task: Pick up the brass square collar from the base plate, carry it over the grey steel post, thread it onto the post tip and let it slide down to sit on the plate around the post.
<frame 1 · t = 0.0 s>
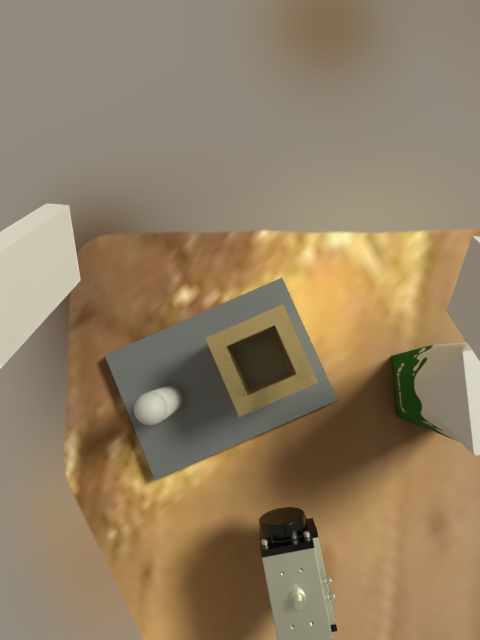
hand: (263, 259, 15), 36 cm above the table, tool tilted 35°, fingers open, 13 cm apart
collar: (260, 359, 48), point 1 cm above the table, touching post plate
post plate: (220, 376, 50), on the table
milk carton: (424, 384, 49), on the table
pneumatic valve: (291, 542, 48), on the table
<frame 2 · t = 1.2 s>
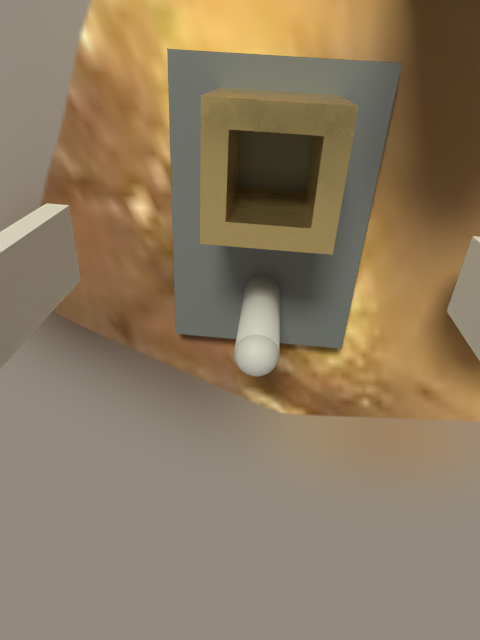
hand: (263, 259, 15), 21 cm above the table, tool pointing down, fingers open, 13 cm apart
collar: (274, 154, 31), point 1 cm above the table, touching post plate
post plate: (268, 216, 35), on the table
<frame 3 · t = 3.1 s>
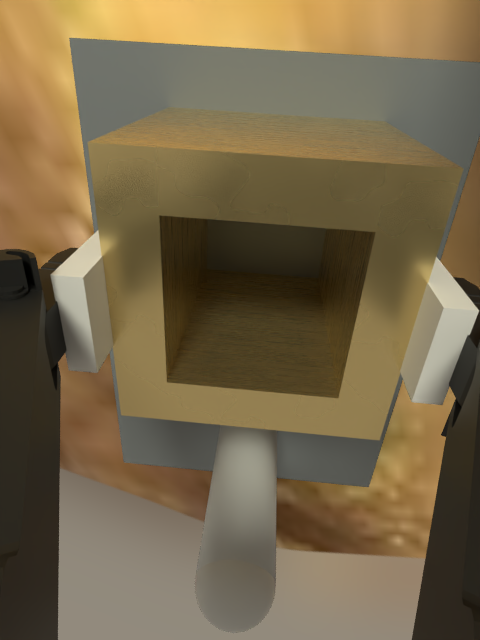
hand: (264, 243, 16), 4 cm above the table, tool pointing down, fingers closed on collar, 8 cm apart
collar: (266, 219, 18), point 2 cm above the table, touching gripper, post plate
post plate: (259, 305, 22), on the table
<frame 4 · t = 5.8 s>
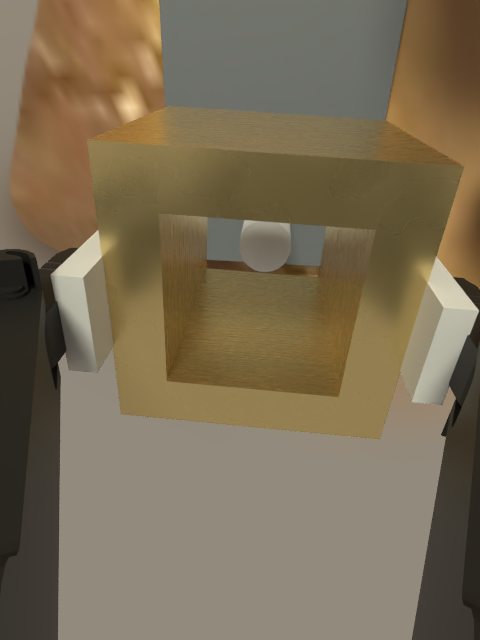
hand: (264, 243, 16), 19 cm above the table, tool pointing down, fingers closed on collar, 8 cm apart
collar: (266, 218, 18), point 16 cm above the table, touching gripper
post plate: (274, 111, 31), on the table
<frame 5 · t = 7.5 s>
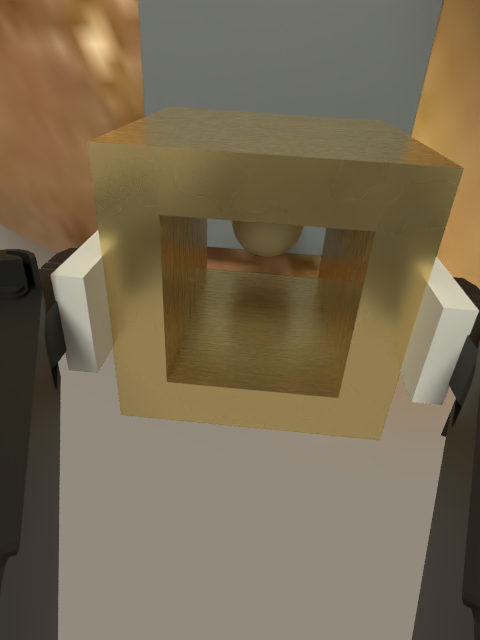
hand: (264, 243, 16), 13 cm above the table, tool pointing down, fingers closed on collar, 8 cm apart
collar: (266, 219, 18), point 10 cm above the table, touching gripper
post plate: (282, 54, 24), on the table
when the fingers open (13 cm above the table, at t = 8.7 s): collar drops 8 cm, resting on post plate.
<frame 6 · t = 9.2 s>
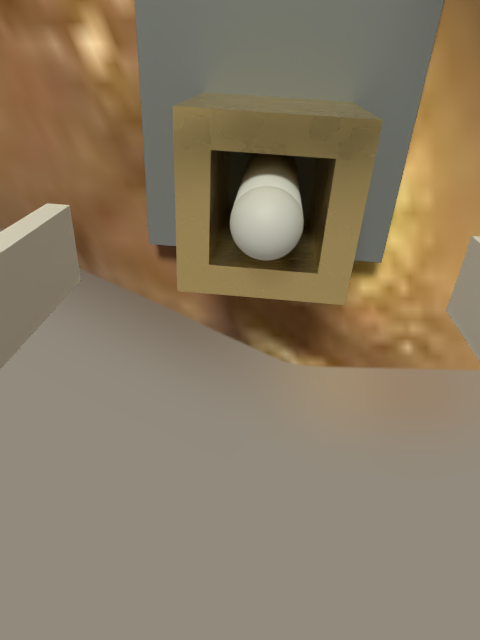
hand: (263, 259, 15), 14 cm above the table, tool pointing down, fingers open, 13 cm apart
collar: (271, 173, 25), point 1 cm above the table, touching post plate
post plate: (281, 53, 24), on the table
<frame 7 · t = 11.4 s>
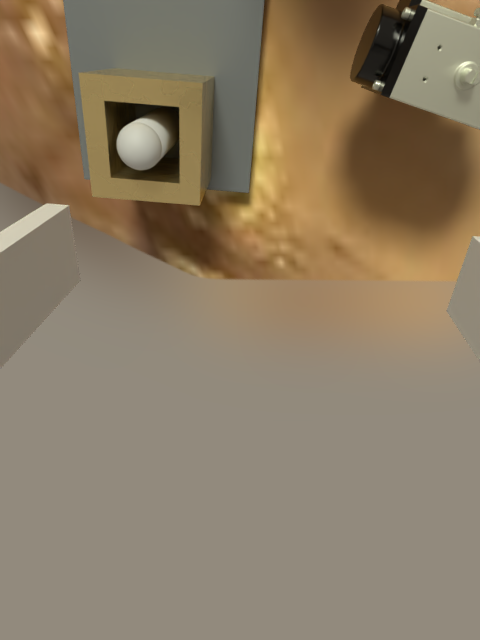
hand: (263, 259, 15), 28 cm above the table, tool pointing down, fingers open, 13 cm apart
collar: (165, 126, 37), point 1 cm above the table, touching post plate
post plate: (167, 42, 35), on the table
pneumatic valve: (414, 63, 35), on the table
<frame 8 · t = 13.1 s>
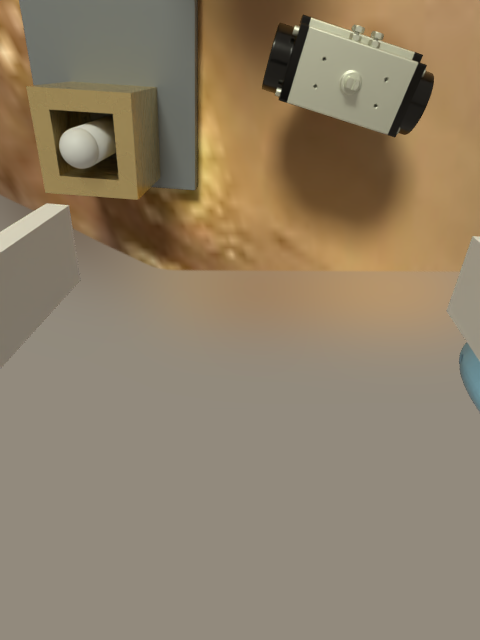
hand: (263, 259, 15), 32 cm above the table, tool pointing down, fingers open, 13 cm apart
collar: (117, 131, 41), point 1 cm above the table, touching post plate
post plate: (116, 58, 40), on the table
pneumatic valve: (335, 72, 39), on the table
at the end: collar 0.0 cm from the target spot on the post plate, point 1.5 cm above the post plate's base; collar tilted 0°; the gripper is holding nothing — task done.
